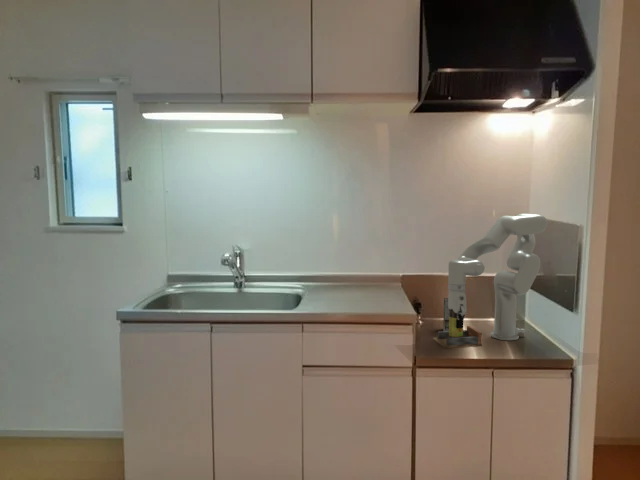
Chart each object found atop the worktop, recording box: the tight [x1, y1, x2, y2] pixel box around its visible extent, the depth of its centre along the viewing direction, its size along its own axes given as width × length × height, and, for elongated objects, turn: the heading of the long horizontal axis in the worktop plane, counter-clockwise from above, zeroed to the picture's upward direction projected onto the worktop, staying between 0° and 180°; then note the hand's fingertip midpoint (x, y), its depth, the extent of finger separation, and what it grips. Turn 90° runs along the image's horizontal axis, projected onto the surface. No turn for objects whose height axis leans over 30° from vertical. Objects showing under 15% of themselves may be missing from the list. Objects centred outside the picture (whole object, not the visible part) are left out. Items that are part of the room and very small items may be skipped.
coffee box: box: [442, 297, 449, 331], centre depth 233 cm, size 9×6×16 cm
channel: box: [432, 325, 483, 349], centre depth 218 cm, size 18×12×6 cm, turn 99°
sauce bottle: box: [449, 309, 464, 338], centre depth 217 cm, size 6×6×20 cm
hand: (456, 325), depth 217 cm, fingers closed on sauce bottle, 6 cm apart
